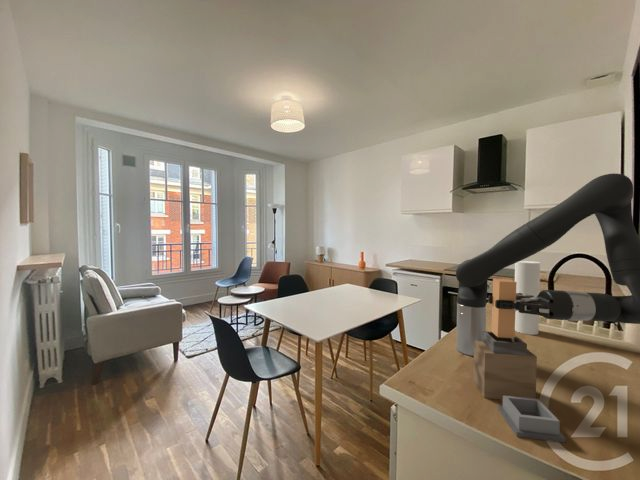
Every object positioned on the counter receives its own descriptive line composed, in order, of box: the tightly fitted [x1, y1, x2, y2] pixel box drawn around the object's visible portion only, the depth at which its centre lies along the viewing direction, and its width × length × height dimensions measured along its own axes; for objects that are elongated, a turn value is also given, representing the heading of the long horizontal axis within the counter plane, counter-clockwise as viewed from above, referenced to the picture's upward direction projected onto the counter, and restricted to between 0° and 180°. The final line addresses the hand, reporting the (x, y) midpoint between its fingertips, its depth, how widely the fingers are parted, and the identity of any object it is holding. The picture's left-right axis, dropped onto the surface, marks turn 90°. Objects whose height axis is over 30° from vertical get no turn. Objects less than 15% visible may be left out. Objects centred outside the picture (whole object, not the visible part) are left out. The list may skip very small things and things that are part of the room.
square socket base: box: [472, 330, 538, 400], centre depth 74 cm, size 8×12×15 cm, turn 79°
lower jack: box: [497, 396, 566, 443], centre depth 62 cm, size 9×9×4 cm
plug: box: [490, 278, 517, 338], centre depth 74 cm, size 4×4×15 cm
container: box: [514, 260, 541, 336], centre depth 117 cm, size 9×9×30 cm
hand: (492, 301), depth 74 cm, fingers closed on plug, 4 cm apart
